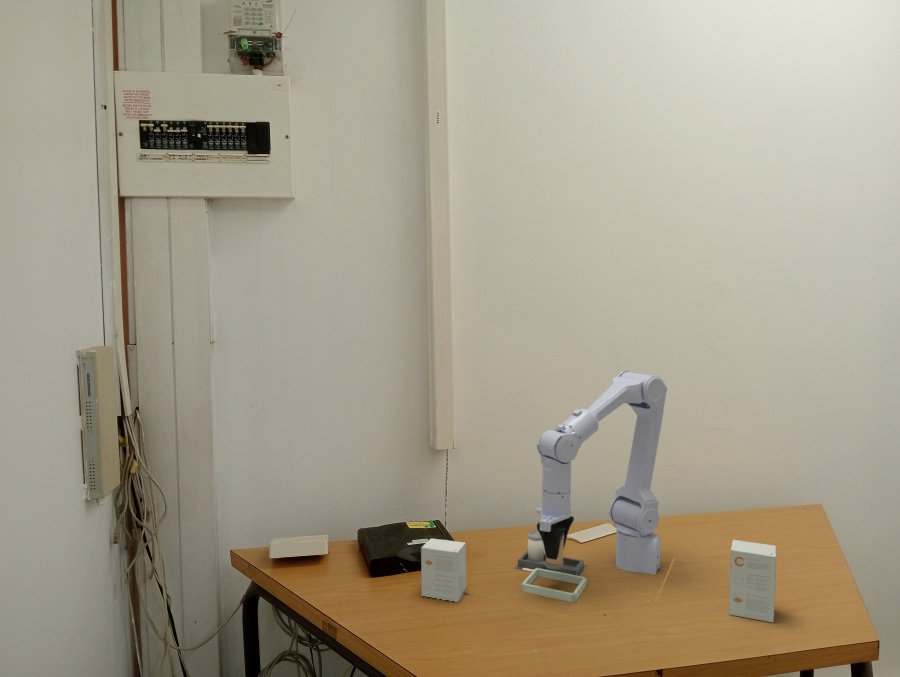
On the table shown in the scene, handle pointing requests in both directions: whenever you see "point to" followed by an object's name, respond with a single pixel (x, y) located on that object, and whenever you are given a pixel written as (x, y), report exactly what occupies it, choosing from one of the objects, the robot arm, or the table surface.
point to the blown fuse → (558, 562)
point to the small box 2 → (752, 580)
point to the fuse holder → (569, 567)
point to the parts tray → (551, 592)
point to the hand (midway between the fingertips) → (554, 554)
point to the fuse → (535, 547)
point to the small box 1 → (443, 569)
